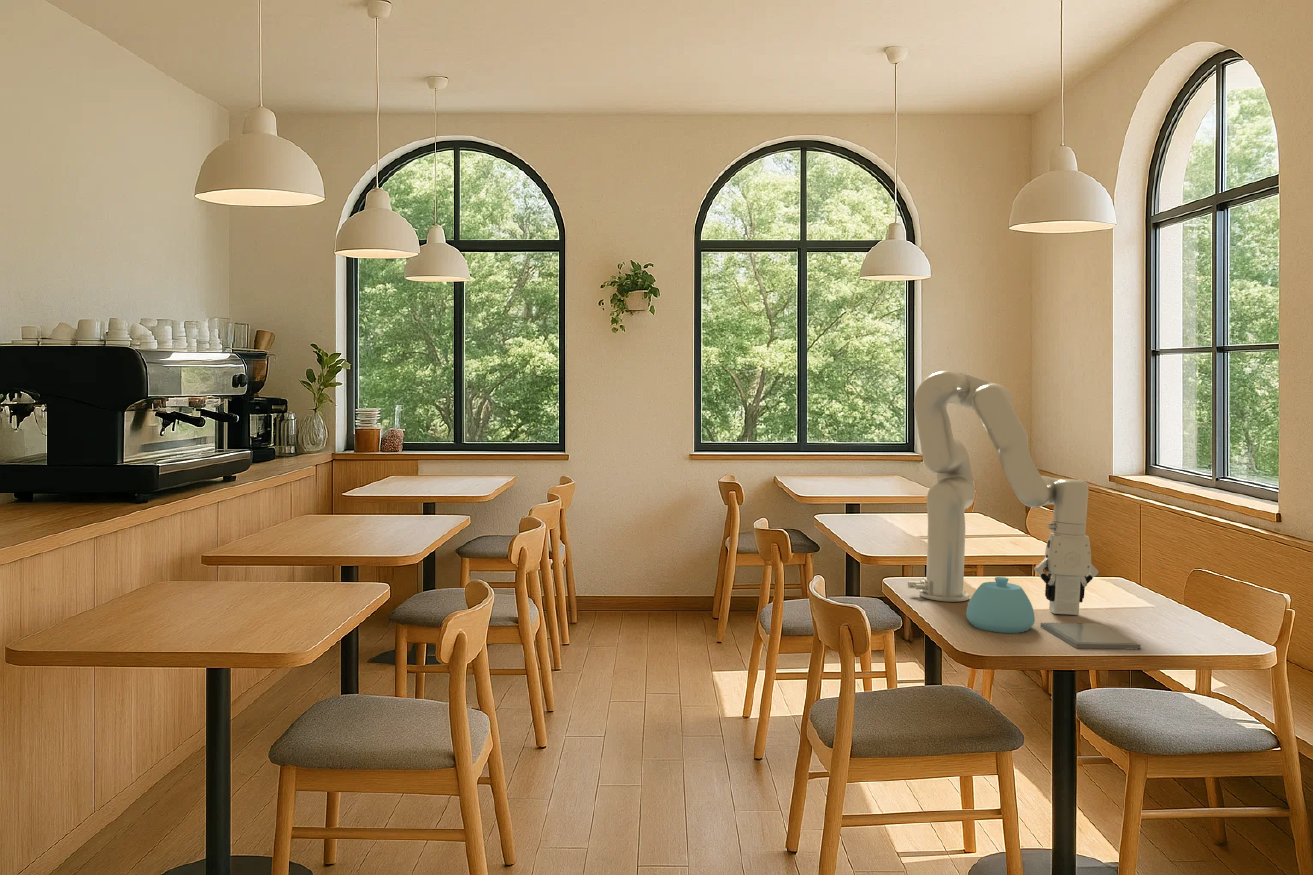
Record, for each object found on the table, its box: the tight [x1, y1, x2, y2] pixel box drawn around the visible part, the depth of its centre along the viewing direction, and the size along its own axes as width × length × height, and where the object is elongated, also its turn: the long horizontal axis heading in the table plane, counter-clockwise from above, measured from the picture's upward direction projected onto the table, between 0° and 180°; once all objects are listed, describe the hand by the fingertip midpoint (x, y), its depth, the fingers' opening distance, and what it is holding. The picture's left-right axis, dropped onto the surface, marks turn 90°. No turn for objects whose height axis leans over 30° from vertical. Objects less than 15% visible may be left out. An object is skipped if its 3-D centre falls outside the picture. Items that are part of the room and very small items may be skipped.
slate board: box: [1040, 622, 1142, 649], centre depth 211 cm, size 14×18×1 cm
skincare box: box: [1048, 575, 1081, 616], centre depth 233 cm, size 6×4×12 cm
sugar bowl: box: [965, 576, 1036, 634], centre depth 219 cm, size 15×15×12 cm
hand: (1064, 599), depth 233 cm, fingers closed on skincare box, 6 cm apart
